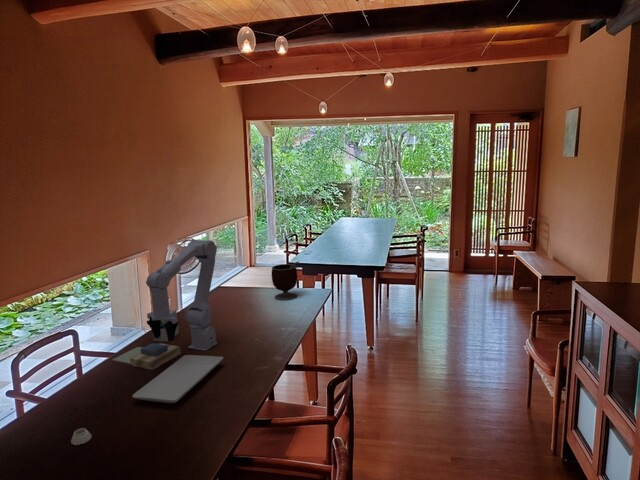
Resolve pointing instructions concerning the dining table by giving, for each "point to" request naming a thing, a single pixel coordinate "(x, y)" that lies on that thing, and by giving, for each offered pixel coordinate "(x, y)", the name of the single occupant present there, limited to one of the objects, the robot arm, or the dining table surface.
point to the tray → (178, 379)
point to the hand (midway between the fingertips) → (164, 338)
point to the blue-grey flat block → (154, 349)
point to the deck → (155, 358)
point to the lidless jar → (80, 436)
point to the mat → (128, 355)
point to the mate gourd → (285, 280)
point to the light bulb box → (163, 332)
